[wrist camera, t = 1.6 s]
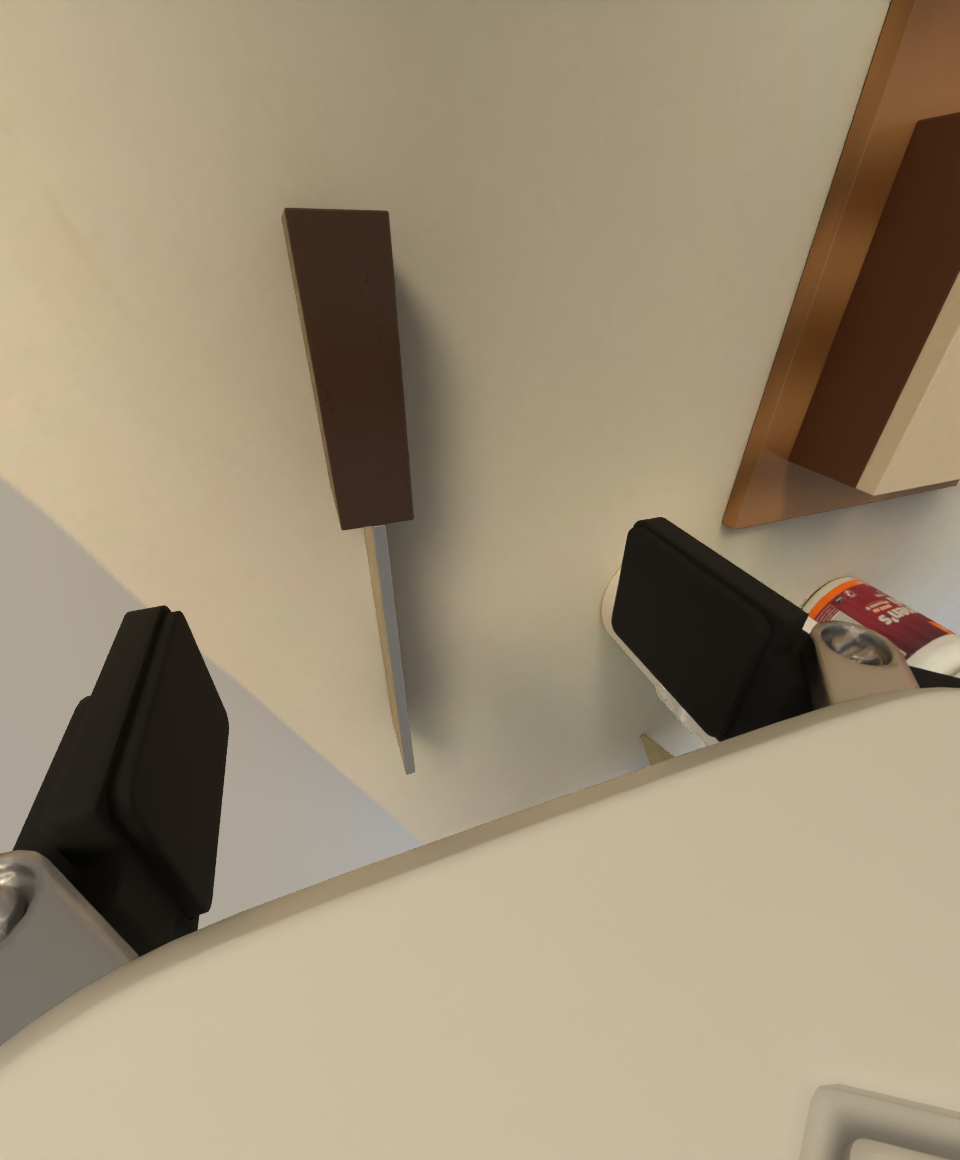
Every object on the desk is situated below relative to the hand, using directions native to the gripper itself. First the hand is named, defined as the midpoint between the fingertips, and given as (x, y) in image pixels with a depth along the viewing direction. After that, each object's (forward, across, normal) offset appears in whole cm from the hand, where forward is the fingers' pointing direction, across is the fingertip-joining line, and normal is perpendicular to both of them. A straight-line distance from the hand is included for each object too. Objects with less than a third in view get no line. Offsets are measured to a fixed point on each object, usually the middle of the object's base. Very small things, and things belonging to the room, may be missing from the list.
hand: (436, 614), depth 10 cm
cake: (+11, -27, -4) cm, 29 cm away
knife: (+12, 0, +5) cm, 13 cm away
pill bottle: (+12, -35, +17) cm, 41 cm away
